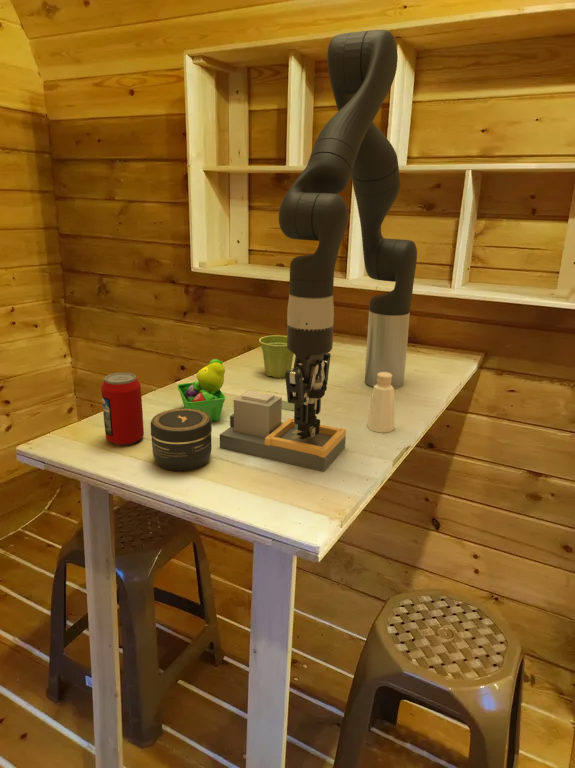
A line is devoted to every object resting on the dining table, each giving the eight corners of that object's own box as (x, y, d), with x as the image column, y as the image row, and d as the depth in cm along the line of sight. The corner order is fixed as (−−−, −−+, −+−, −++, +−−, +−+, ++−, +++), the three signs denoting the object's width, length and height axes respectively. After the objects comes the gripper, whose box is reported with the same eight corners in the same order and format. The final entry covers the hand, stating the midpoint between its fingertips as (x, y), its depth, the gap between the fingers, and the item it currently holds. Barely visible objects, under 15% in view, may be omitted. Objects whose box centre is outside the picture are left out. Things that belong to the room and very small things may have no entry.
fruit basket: (177, 407, 122) (174, 355, 119) (218, 402, 125) (217, 351, 122) (188, 427, 112) (186, 371, 109) (233, 421, 115) (232, 367, 112)
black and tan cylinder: (305, 445, 97) (311, 388, 94) (279, 436, 100) (285, 380, 97) (326, 435, 102) (333, 380, 99) (301, 426, 105) (307, 373, 102)
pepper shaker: (393, 434, 111) (397, 379, 107) (364, 431, 112) (368, 376, 109) (396, 423, 116) (400, 370, 112) (368, 420, 117) (372, 368, 114)
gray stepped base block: (246, 427, 113) (245, 382, 110) (345, 448, 105) (347, 400, 102) (218, 447, 104) (217, 399, 101) (324, 471, 96) (326, 420, 93)
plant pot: (290, 367, 149) (290, 334, 147) (302, 378, 141) (303, 343, 138) (254, 370, 147) (254, 336, 144) (265, 382, 138) (265, 346, 135)
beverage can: (112, 431, 110) (107, 370, 106) (148, 432, 110) (144, 371, 106) (100, 447, 104) (94, 383, 100) (138, 448, 104) (133, 384, 100)
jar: (185, 442, 106) (184, 402, 104) (224, 458, 100) (224, 417, 98) (140, 461, 99) (137, 419, 96) (179, 480, 93) (177, 436, 90)
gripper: (314, 334, 88) (311, 438, 93) (347, 315, 100) (342, 408, 106) (269, 328, 91) (269, 429, 96) (306, 311, 103) (304, 401, 109)
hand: (307, 417), depth 101 cm, fingers closed on black and tan cylinder, 5 cm apart
